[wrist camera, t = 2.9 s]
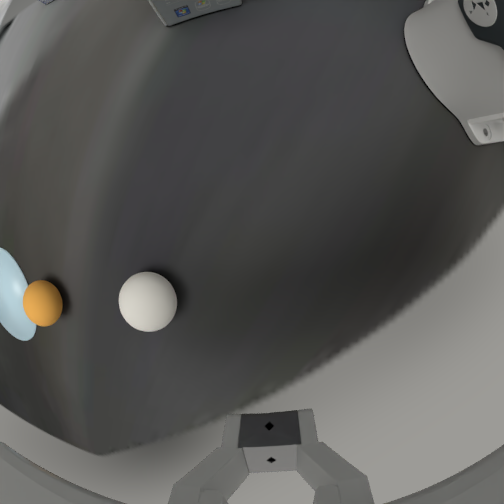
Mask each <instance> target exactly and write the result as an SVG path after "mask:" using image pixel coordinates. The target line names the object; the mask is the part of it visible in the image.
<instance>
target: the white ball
mask: <svg viewBox="0 0 504 504" xmlns="http://www.w3.org/2000/svg"><path fill="white" fill-rule="evenodd" d="M119 307H120V311H121V313H122V315H123V317H124V319H125V320H126V321H127V322H128V323H129V324H130V325H131V326H132V327H134V328H136V329H138V330H141V331H146V332H151V331H157V330H160V329H162V328H164V327H165V326H166V325H168V324H169V322H170V321H171V320H172V319H173V317H174V315H175V312H176V308H177V297H176V293H175V291H174V288H173V287H172V285H171V284H170V282H169V281H168V280H167V279H165V278H164V277H163V276H161V275H159V274H157V273H153V272H141V273H137V274H135V275H133V276H131V277H130V278H129V279H128V280H127V281H126V282H125V283H124V285H123V286H122V288H121V291H120V294H119Z"/></svg>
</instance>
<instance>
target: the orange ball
mask: <svg viewBox="0 0 504 504" xmlns="http://www.w3.org/2000/svg"><path fill="white" fill-rule="evenodd" d="M62 307H63V304H62V298H61V295H60V293H59V291H58V289H57V288H56V287H55V286H54V285H53V284H52V283H50V282H48V281H44V280H38V281H35V282H33V283H31V284H30V285H29V286H28V287H27V288H26V290H25V292H24V296H23V308H24V311H25V313H26V315H27V317H28V318H29V319H30V320H31V321H32V322H33V323H35V324H37V325H39V326H49V325H52V324H53V323H55V322H56V321H57V320H58V319H59V317H60V315H61V312H62Z"/></svg>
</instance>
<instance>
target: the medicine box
mask: <svg viewBox="0 0 504 504" xmlns="http://www.w3.org/2000/svg"><path fill="white" fill-rule="evenodd" d="M39 1H40V2H42V3H44V4H45V5H46V4H48V3H50V2H52V1H53V0H39Z"/></svg>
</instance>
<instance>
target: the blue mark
mask: <svg viewBox="0 0 504 504" xmlns="http://www.w3.org/2000/svg"><path fill="white" fill-rule="evenodd" d="M28 286H29V285H28V283H27V280H26V278H25V276H24V274H23V272H22V270H21V268H20V267H19V265H18V263H17V262H16V261H15V259H14V258H13V257H12V255H11V254H10V253H9V252H8V251H6V250H5V249H3V248H1V247H0V322H1V323H2V325H3V326H4V327H5V329H6V330H7V331H8V332H9V333H10V334H12V335H13V336H14V337H16V338H18V339H20V340H24V341H26V340H29V339H31V338H32V337H33V336H34V334H35V332H36V327H37V324H35V323H33V322H32V321H31V320H30V319H29V318H28V317H27V315H26V313H25V311H24V308H23V296H24V292H25V290H26V288H27V287H28Z"/></svg>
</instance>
